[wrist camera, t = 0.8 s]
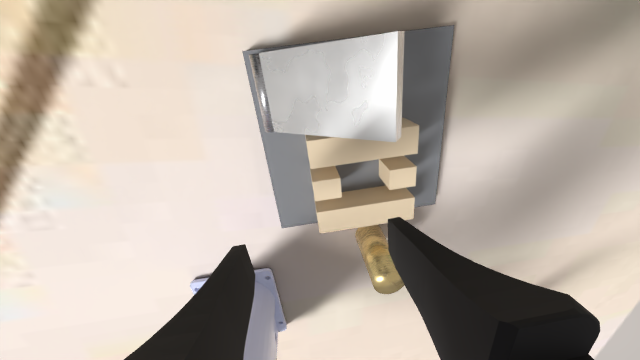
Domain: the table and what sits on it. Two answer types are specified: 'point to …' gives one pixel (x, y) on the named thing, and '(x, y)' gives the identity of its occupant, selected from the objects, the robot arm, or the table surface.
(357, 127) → the grey flat plate
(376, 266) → the pin
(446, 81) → the board
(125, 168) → the table surface
